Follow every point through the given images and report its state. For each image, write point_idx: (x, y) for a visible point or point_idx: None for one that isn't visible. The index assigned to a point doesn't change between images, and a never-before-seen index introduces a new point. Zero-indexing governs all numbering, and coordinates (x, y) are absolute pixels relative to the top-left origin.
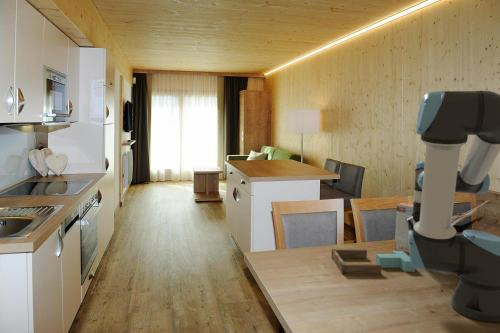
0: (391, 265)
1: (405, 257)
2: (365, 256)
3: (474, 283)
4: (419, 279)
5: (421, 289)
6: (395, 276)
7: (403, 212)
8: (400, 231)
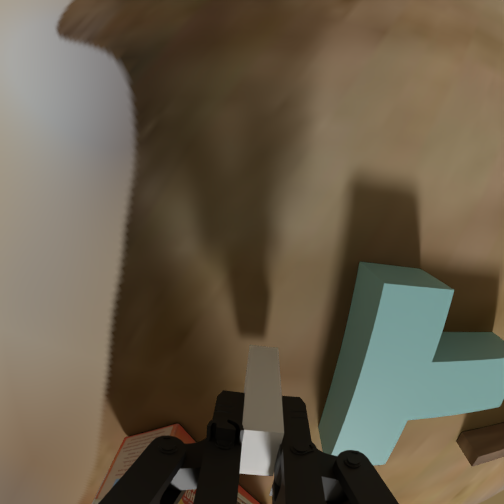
0: (452, 337)
1: (399, 365)
2: (469, 437)
3: None
4: (403, 136)
5: (446, 31)
6: (495, 206)
7: None
8: None
